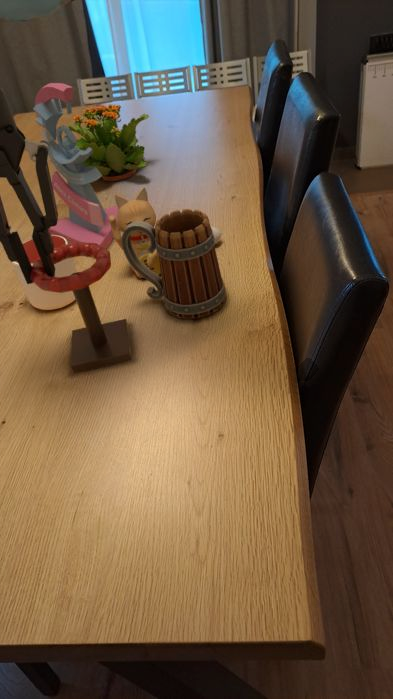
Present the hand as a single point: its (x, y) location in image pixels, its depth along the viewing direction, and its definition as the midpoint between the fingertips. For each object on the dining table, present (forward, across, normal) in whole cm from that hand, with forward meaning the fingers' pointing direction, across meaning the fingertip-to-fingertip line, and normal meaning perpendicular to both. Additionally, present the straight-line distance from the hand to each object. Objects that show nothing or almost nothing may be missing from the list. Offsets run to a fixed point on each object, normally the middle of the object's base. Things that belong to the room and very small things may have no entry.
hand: (41, 275), depth 69 cm
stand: (+15, -5, 0) cm, 15 cm away
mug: (+15, -19, -8) cm, 25 cm away
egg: (+15, -27, -25) cm, 39 cm away
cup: (+15, +3, -18) cm, 24 cm away
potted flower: (+15, -11, -72) cm, 74 cm away
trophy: (+15, -2, -40) cm, 43 cm away
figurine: (+15, -14, -21) cm, 29 cm away
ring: (-1, -4, 0) cm, 4 cm away
